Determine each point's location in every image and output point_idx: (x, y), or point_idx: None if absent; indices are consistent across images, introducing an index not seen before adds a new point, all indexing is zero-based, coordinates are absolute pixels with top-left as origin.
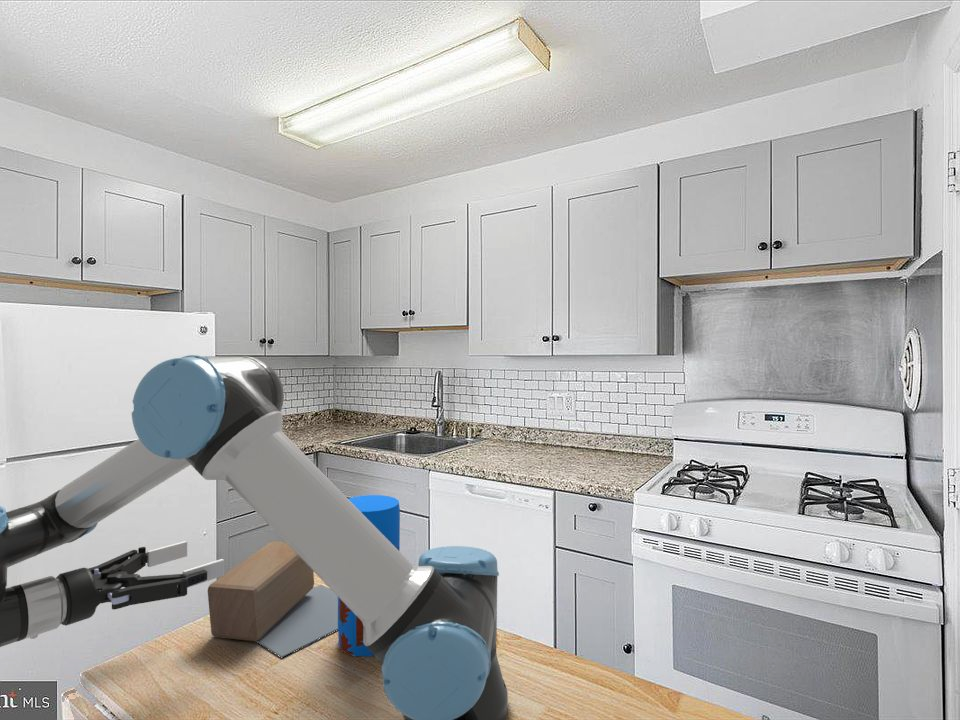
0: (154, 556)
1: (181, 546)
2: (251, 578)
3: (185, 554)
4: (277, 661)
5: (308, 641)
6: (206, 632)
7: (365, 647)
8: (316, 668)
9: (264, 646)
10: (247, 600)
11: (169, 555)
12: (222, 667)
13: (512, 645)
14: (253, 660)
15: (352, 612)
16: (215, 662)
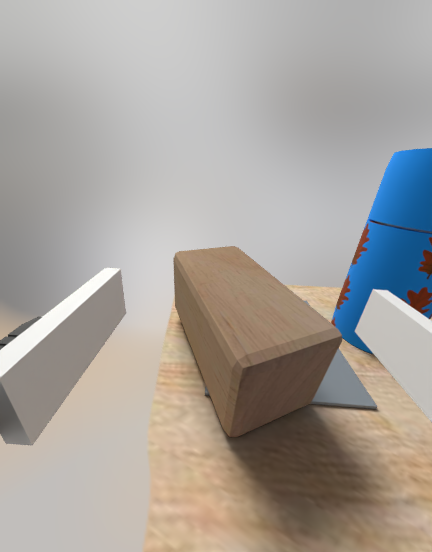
0: (40, 378)
1: (113, 288)
2: (291, 313)
3: (123, 310)
4: (381, 417)
5: (345, 364)
6: (197, 434)
7: None
8: None
9: (326, 403)
10: (330, 356)
11: (91, 335)
12: (367, 502)
13: None
14: (362, 440)
15: (428, 312)
16: (336, 500)
